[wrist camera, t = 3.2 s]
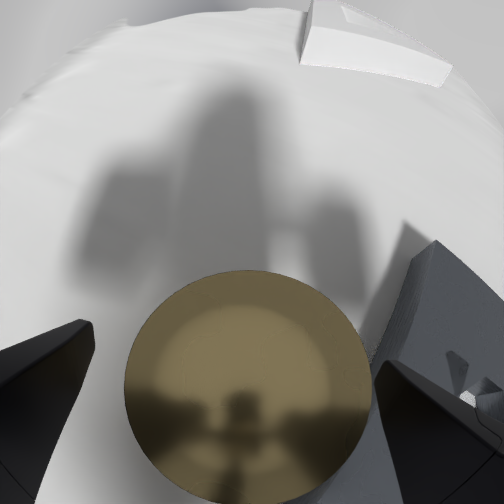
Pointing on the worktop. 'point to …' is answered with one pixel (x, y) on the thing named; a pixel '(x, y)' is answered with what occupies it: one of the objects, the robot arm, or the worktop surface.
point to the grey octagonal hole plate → (427, 365)
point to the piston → (248, 388)
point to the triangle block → (367, 45)
